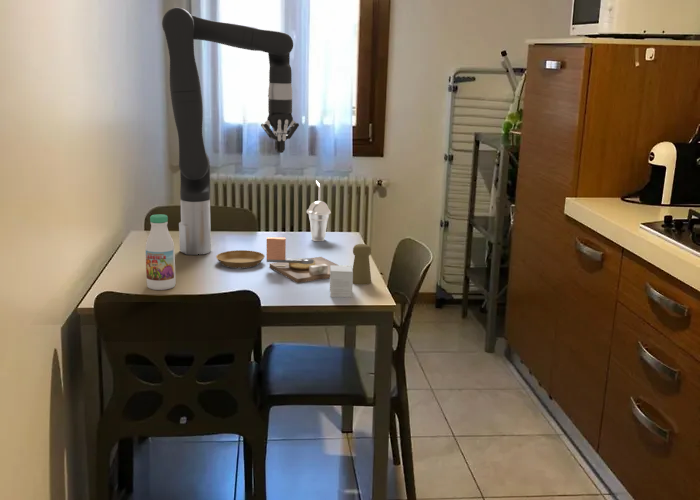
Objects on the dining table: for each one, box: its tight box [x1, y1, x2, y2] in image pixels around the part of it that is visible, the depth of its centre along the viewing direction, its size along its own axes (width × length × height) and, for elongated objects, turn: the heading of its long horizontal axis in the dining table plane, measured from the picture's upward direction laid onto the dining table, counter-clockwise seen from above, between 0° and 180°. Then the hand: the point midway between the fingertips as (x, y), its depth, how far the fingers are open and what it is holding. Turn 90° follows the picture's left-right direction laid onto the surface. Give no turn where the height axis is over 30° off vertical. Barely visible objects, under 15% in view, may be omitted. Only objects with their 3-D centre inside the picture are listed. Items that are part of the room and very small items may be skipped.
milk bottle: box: [145, 213, 177, 291], centre depth 209 cm, size 8×8×20 cm
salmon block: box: [266, 236, 315, 270], centre depth 228 cm, size 14×8×8 cm, turn 89°
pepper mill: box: [352, 243, 372, 286], centre depth 220 cm, size 6×6×11 cm
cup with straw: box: [306, 180, 332, 242], centre depth 266 cm, size 8×9×20 cm
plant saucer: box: [215, 250, 265, 269], centre depth 236 cm, size 15×15×3 cm
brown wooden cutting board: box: [269, 256, 338, 284], centre depth 229 cm, size 18×18×4 cm
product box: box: [329, 264, 354, 298], centre depth 209 cm, size 6×6×7 cm
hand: (280, 152), depth 247 cm, fingers closed
